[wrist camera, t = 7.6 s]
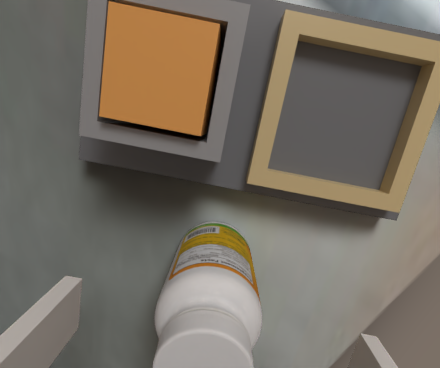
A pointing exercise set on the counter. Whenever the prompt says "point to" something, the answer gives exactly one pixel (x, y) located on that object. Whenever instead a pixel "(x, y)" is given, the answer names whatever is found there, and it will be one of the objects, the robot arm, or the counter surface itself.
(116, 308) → the counter surface
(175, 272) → the supplement bottle
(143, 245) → the counter surface
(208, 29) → the switch button
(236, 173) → the base
